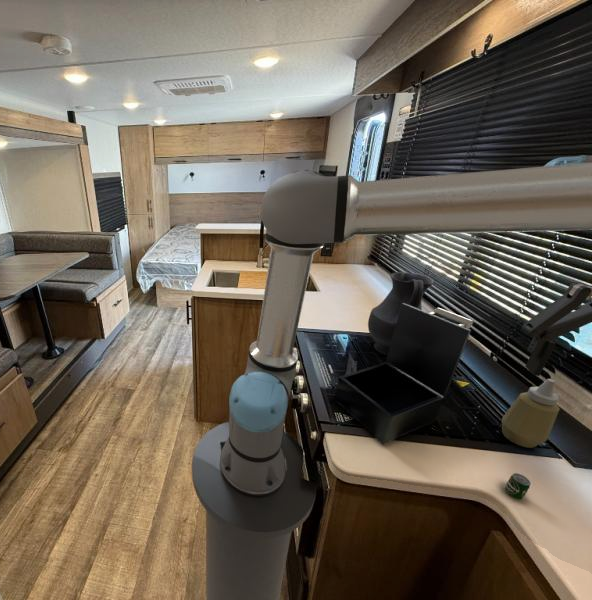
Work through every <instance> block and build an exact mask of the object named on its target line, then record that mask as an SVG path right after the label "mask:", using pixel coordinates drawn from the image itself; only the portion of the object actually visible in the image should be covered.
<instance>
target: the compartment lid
mask: <svg viewBox="0 0 592 600" xmlns="http://www.w3.org/2000/svg"><path fill="white" fill-rule="evenodd" d="M473 324H474V321H473V320H471V319H469V318H467V317H464V316H462V315H459V314H456V313H454V312H451V311H449V310H446V309H443V308H440V307H436V308H435V309H434V310H433V312H432V311H431V312H427V311H425V310H423V309H422V310H420V309H418V308H415V307H413V306H410V305H408V304H405V303H402V305H401V308H400V312H399V316H398V319H397V323H396V327H395V331H394V334H393V338H392V342H391V345H390V349H389V353H388V356H387V357H386V361H385V362H387V363H389V364H391V365H392V366H394V367H395V368H397V369H399V370H400V371H402V372H404V373H405V374H407V375H409V376H410V377H412V378H414V379H415V380H417V381H418V382H420V383H422V384H423V385H425V386H427V387H428V388H430V389H432V390H433V391H435V392H437V393H438V394H440V395H441V396H443V397H446V396H447V393H448V391H449V388H450V386H451V383H452V381H453V378H454V376H455V373H456V370H457V368H458V365H459V362H460V360H461V358H462V355H463V352H464V349H465V347H466V344H467V341H468V340H469V336H470V334H471V332H472V330H471V329H470V328H471V327H472V326H473Z"/></svg>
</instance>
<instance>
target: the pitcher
mask: <svg viewBox="0 0 592 600" xmlns="http://www.w3.org/2000/svg"><path fill="white" fill-rule="evenodd" d="M389 276H390V280H391V282H392V288H391V290H390V291H389V292H388V294H387V295H386V297H385V298H384V299H383V300H382V301H381V302H380V303H379V304H378V305H376V306H375V307H373V308H372V309H371V311H370V313H369V317H368V320H367V328H368V333H369V335H370V337H371V338H372V340H373V341H374V342H375V343H374V344H373V348H374V349H375V350H376V351H377V352H378V353H379V354H382V355H385V356H387V357H388V353H389V349H390V345H391V342H392V338H393V334H394V331H395V327H396V323H397V319H398V316H399V312H400V308H401V305H402V303H405V304H408V305H410V306H413V307H415V308H418V309H420V310H423V307H422V301H423V300H422V299H423V296H424V294H425V293H426V291H427V290H428V289H429V288H430V287H431V286H432V285H434V284H435V281H434V279H433V278H432V277H429V276H428V275H425V274H421V273H415V272H404V271H396V272H392V273H391V274H390V275H389Z"/></svg>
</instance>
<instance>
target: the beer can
mask: <svg viewBox="0 0 592 600" xmlns="http://www.w3.org/2000/svg"><path fill="white" fill-rule="evenodd" d="M531 484H532V482H531V481H530V479H529V478H527V476H525V475H523V474H521V473H517V472H516V473H512V475H510V477H509V478H508V480H507V482H506V484H505V486H504V492H505V493H506V494H507V495H508V496H510V497H511V498H512V499H516V500H522V499H523V498H524V497H525V495H526V494H527V493H528V491H529V489H530V487H531Z"/></svg>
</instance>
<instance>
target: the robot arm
mask: <svg viewBox="0 0 592 600" xmlns="http://www.w3.org/2000/svg"><path fill="white" fill-rule="evenodd" d="M260 204H261V205H260V218H261V222H262V225H263V227H264V228H265V230H266V231H265V237H264V241H265V242H266V244H267V245H268V246H269V247H270V253H269V260H268V265H267V271H266V278H265V285H264V293H263V297H262V298H263V299H262V305H261V312H260V318H259V323H258V324H259V325H258V330H257V331H258V332H257V338H256V340H254V341H253V342H251V344H250V345H249V349H248V356H247V362H246V368H245V371H244V374H242V375H240V376H238V377H237V378H236V379H235V381H234V382H233V383H232V387H231V389H230V393H229V397H228V398H229V401H228V405H229V415H228V417H229V418H228V422H229V437H228V439H227V441H226V442H220V445H221V446H224V447H223V449H222V452H221V456H220V468H221V472H222V475H223V477H224V479H225V480H226V482H227V483H228V484H229V485H230V486H231V487H232V488H233V489H234V490H236V491H237V492H239V493H241V494H243V495H246V496H250V497H266V496H269V495H272V494H273V493H275V492H276V491H278V490H279V489H280V487H281V486H282V484H283V482H284V480H285V474H286V470H287V467H286V459H284V456H283V452H282V449H281V441H282V434H283V431H284V426H285V420H286V416H287V415H286V414H287V411H288V405H289V401H290V396H291V391H292V387H293V384H294V383H293V382H294V380H295V377H296V372H297V371H296V369H297V365H298V359H299V354H298V352H297V350H296V349H295V348H294V347H295V343H296V337H297V334H298V330H299V329H298V328H299V323H300V318H301V315H302V311H303V310H302V309H303V305H304V301H305V296H306V291H307V286H308V283H309V278H310V274H311V273H310V272H311V268H312V263H313V260H314V255H315V253H316V252H318V251H319V250H321V249H323V247H324V245H325V244H330V243H331V244H338V243H339V244H342V243H347V242H348V241H349V240H350V239H351V238H352V237H355V236H388V235H391V236H392V235H429V234H430V235H432V234H434V235H435V234H437V235H438V234H474V233H475V234H476V233H477V234H478V233H517V232H518V233H519V232H522V233H524V232H559V231H560V232H561V231H564V232H566V231H592V155H585V154H584V155H583V154H582V155H578V156H577V155H576V156H563V157H562V156H561V157H557V158H554V159H552V160H550V161H548V162H547V163H546V164H545V165H543V166H536V167H535V166H533V167H522V168H512V169H511V168H509V169H497V170H487V171H474V172H473V171H472V172H460V173H450V174H449V173H448V174H438V175H425V176H424V175H423V176H413V177H401V178H388V179H387V178H386V179H377V180H364V181H363V180H362V181H358V180H357V179H356V178H354V176H352V175H351V174H347V175H337V176H326V175H323V174H322V173H320V172H318V171H317V170H316V171H315V170H309V169H304V170H303V169H300V170H296V171H292V172H290V173H287V174H285V175H282V176H281V177H279V178H278V179H276V180H274V182H273V183H271V184H270V186H269V187H268V188H267V190H266V191H265V193H264V195H263V197H262V200H261V203H260ZM591 299H592V286H589V285H584V284H583V283H581V282H578V281H577V282H576V281H574V282H572V283H570V285H568V287H567V289H566V290H565V292H564V293H563V294H562V295H561V296H560V297H558V298H557V299H556V300H554V301H553V302H551V303H550V304H548V305H547V306H546V307H545V308H543V309H542V310H541V311H539V312H538V313H537V314H535V315H534V316H533V317H531V318H530V319H529V320H527V321H526V322H525V323H524V324H522V325H521V329H523V331H525V333H527V334H528V335H529V336H531V337H532V339H531V341H530V343H529V345H528V348H527V352H528V353H529V354H530V356H529V358H528V360H527V362H526V364H525V365H524V366H525V368H526V369H527V370H528V371H529V372H530V373H531V374H532V375H533V376H538V377H540V375H541V374H542V372H543V370H544V368H545V366H546V365H547V363H548V360H549V359H550V357H551V355H552V353H553V351H554V349H555V347H556V346H557V343H556V342H555V341H554V340H556V339H557V338H560V337H563V336H565V335H567V334H568V333H572V332H573V331H575V330H577V329H580V328H582V327H584V326H587V325H589V324H591V323H592V300H591ZM585 301H587V302H586V303H584V302H585ZM579 306H581V307H580V308H578V307H579ZM577 308H578V309H577Z"/></svg>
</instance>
